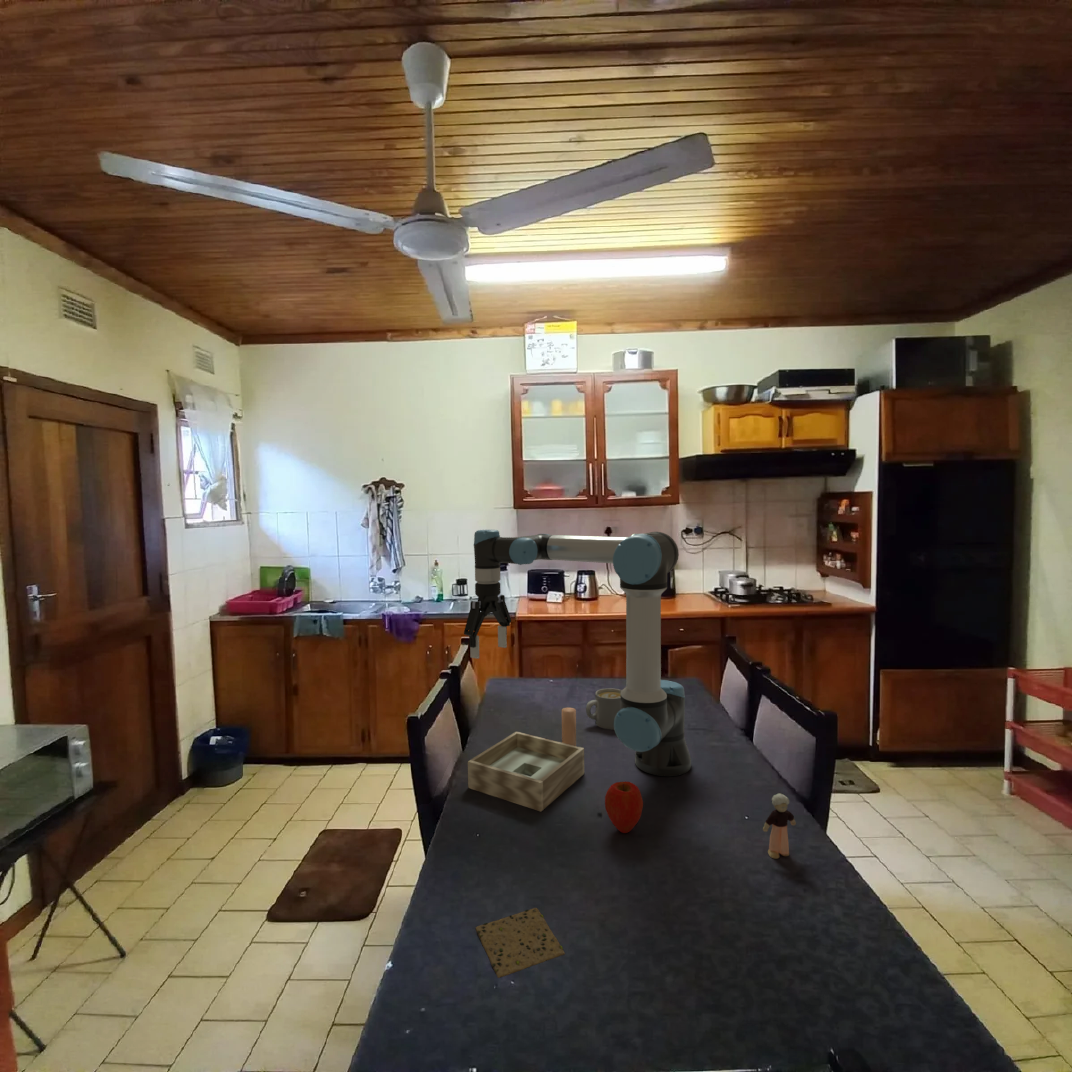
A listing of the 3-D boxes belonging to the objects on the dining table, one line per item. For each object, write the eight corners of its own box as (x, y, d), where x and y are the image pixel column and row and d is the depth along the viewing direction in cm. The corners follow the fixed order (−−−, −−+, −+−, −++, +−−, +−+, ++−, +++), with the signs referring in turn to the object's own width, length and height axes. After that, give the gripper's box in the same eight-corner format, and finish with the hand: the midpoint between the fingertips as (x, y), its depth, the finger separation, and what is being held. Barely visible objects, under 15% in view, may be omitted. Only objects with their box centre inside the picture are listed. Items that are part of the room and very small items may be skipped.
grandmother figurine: (774, 863, 118) (775, 803, 117) (759, 853, 122) (760, 794, 121) (800, 852, 122) (801, 793, 121) (785, 843, 125) (786, 785, 124)
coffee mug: (622, 716, 197) (622, 687, 196) (629, 728, 187) (629, 697, 186) (582, 718, 196) (582, 689, 195) (588, 730, 186) (587, 699, 185)
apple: (620, 815, 137) (620, 770, 136) (651, 830, 131) (651, 783, 130) (597, 830, 131) (596, 783, 130) (628, 846, 125) (628, 797, 124)
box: (584, 773, 157) (584, 748, 157) (541, 811, 139) (540, 783, 138) (516, 755, 169) (516, 731, 169) (468, 787, 151) (467, 761, 150)
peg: (578, 757, 167) (578, 709, 166) (571, 762, 164) (571, 713, 163) (566, 753, 169) (566, 706, 168) (559, 759, 166) (559, 711, 165)
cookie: (497, 982, 91) (497, 976, 91) (474, 929, 102) (474, 924, 102) (566, 957, 96) (566, 951, 96) (537, 909, 107) (536, 904, 107)
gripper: (502, 575, 186) (503, 641, 188) (450, 586, 165) (452, 660, 167) (521, 577, 182) (522, 644, 184) (471, 588, 161) (472, 664, 163)
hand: (489, 652), depth 175 cm, fingers open, 13 cm apart
